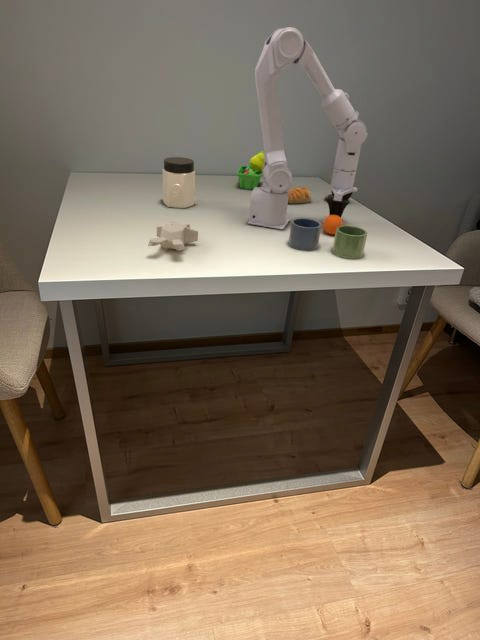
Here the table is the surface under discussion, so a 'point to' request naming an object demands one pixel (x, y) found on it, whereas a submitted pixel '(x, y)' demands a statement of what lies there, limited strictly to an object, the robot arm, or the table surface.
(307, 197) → the pastry
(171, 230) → the white toy turtle
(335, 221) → the ball
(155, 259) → the table surface
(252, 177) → the fruit basket
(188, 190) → the jar
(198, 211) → the table surface
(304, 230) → the slate cup
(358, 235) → the sage cup
